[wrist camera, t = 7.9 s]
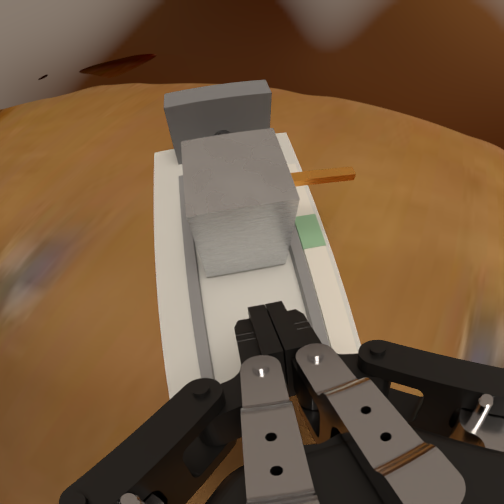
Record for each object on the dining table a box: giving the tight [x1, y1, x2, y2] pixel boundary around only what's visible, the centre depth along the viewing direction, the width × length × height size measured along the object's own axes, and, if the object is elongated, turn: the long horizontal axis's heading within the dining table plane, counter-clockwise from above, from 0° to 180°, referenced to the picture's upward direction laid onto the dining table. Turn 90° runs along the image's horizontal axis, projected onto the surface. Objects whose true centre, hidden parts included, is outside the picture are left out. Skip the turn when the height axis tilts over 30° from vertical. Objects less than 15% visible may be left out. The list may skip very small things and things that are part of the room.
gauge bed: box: [154, 80, 361, 399], centre depth 22 cm, size 14×24×8 cm, turn 11°
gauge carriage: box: [181, 128, 356, 277], centre depth 22 cm, size 11×11×8 cm
